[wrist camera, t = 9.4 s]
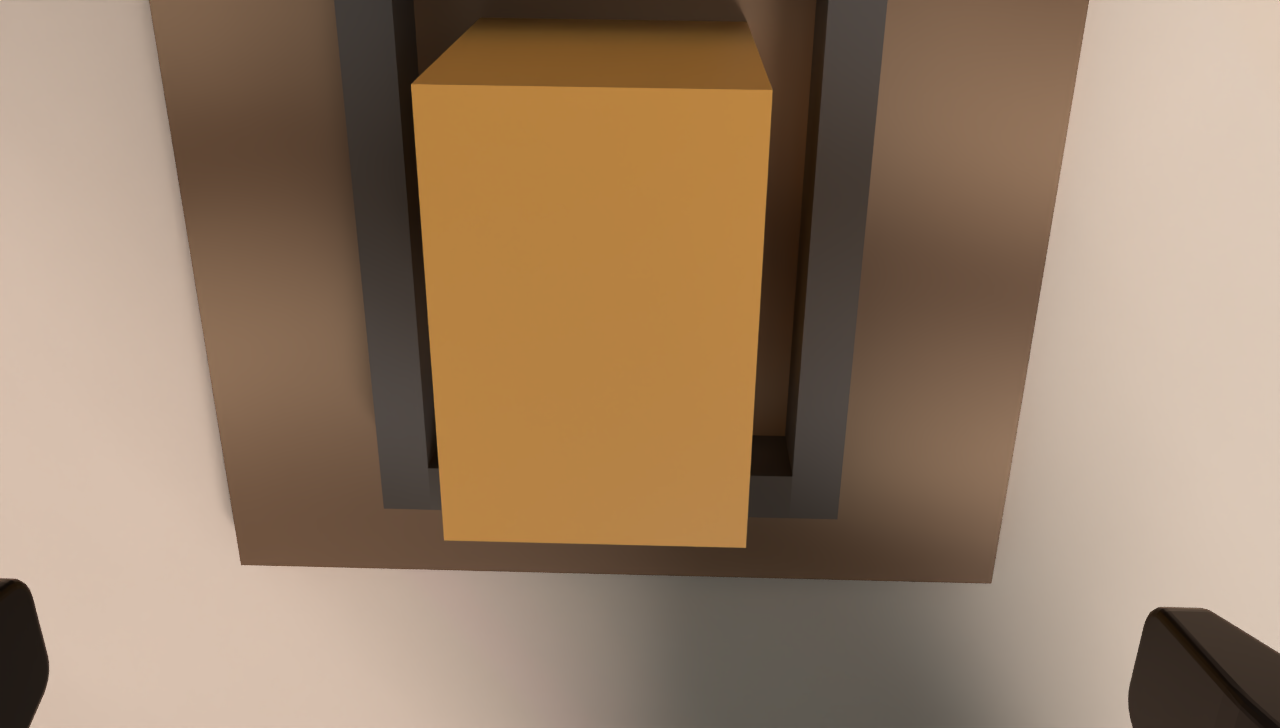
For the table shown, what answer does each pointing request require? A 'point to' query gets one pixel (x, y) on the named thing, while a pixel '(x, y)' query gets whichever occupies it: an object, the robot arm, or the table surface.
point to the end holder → (790, 288)
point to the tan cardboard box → (594, 277)
